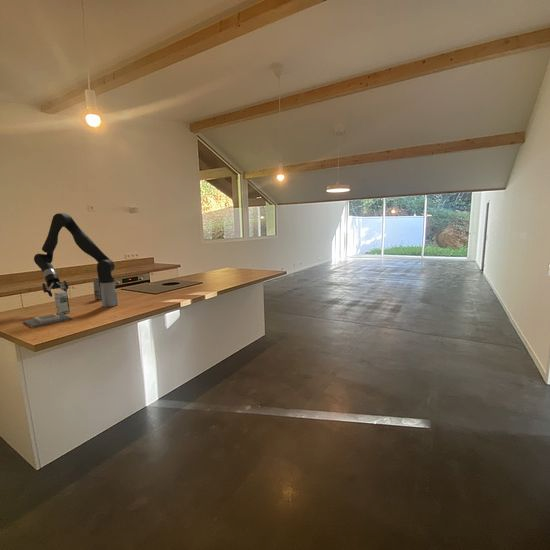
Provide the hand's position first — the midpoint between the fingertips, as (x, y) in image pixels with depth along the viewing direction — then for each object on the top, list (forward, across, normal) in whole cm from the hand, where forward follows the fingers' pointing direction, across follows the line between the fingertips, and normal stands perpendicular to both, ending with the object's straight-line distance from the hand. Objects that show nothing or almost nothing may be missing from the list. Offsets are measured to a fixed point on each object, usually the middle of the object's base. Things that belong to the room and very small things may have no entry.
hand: (59, 294), depth 217 cm
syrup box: (+12, 0, +6) cm, 13 cm away
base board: (+21, -13, -4) cm, 25 cm away
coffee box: (-6, +36, +23) cm, 43 cm away
